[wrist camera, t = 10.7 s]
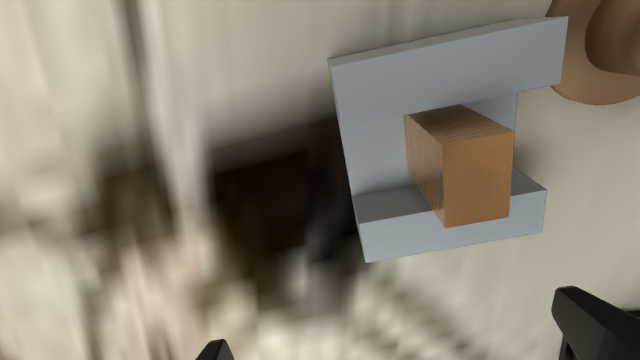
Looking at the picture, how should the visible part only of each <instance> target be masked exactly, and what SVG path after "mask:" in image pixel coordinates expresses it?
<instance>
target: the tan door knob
mask: <svg viewBox="0 0 640 360" xmlns="http://www.w3.org/2000/svg"><path fill="white" fill-rule="evenodd" d="M564 16H569V17H568V25H567V33H566V41H565V49H564V57H563V66H562V74H561V82H560V84H556V85H551V87H552V88H553V89H554V90H555V91H556V92H557V93H559V94H560V95H562V96H564V97H566V98H568V99H571V100H574V101H577V102H581V103H585V104H590V105H609V104H615V103H619V102H623V101H626V100H629V99H631V98H634V97H636V96H638V95H640V0H553V2H552V4H551V6H550V8H549V10H548V13H547V15H546V17H564Z"/></svg>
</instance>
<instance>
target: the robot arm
mask: <svg viewBox="0 0 640 360" xmlns="http://www.w3.org/2000/svg"><path fill="white" fill-rule="evenodd" d="M551 310H552V315H553V318H554V320H555V321H556V323H557V325H558V326H559V328H560V330H561V331H562V333H563V335H564V340H563V345H562V350H561V355H560V360H640V312H634V313H627V312H625V311H623V310H621V309H619V308H617V307H615V306H613V305H611V304H610V303H608V302H606V301H604V300H602V299H600V298H598V297H596V296H594V295H592V294H590V293H588V292H586V291H584V290H582V289H580V288H578V287H575V286H566V287H560V288H557V289H556V290H555V294H554V299H553V304H552V309H551ZM196 360H234V357H233V355H232V353H231V350H230V348H229V346H228V344H227V342H226V340H224V339H219V340H213V341H210V342H209V343H208V344H207V345H206V346H205V348H204V349H203V350H202V352H201V353H200V354H199V356H198V357H197V358H196Z"/></svg>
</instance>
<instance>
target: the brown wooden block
mask: <svg viewBox="0 0 640 360" xmlns="http://www.w3.org/2000/svg"><path fill="white" fill-rule="evenodd" d="M403 121H404V133H405V144H406V156H407V167H408V174H409V176H410V177H411V179H412V180H413V182H414V183H415V185H416V186H417V188H418V189H419V191H420V192H421V194H422V195H423V197H424V198H425V199H426V201H427V202H428V204H429V205H430V207H431V208H432V210H433V211H434V213H435V214H436V216H437V217H438V219H439V220H440V222H441V223H442V225H443V226H444V228H445V229H446V228H451V227H457V226H463V225H468V224H474V223H480V222H485V221H491V220H497V219H502V218H508V217H509V209H510V194H511V179H512V165H513V150H514V135H515V131H514V130H512V129H510V128H508V127H506V126H504V125H502V124H500V123H498V122H496V121H494V120H492V119H490V118H488V117H486V116H484V115H482V114H480V113H478V112H476V111H473V110H471V109H469V108H467V107H465V106H463V105H461V104H456V105H451V106H447V107H442V108H437V109H432V110H427V111H422V112H417V113H412V114H407V115H403Z"/></svg>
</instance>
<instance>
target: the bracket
mask: <svg viewBox="0 0 640 360" xmlns="http://www.w3.org/2000/svg"><path fill="white" fill-rule="evenodd" d="M568 17H569V16H564V17H545V18H526V19H512V20H507V21H502V22H498V23H493V24H488V25H484V26H479V27H474V28H470V29H465V30H461V31H456V32H451V33H447V34H442V35H437V36H433V37H428V38H424V39H419V40H414V41H410V42H405V43H400V44H396V45H391V46H387V47H382V48H377V49H373V50H368V51H363V52H359V53H354V54H350V55H345V56H340V57H336V58H331V59H327V61H328V67H329V72H330V78H331V83H332V89H333V95H334V100H335V106H336V111H337V117H338V122H339V128H340V134H341V139H342V145H343V150H344V156H345V162H346V167H347V173H348V178H349V184H350V189H351V195H352V201H353V206H354V212H355V217H356V223H357V228H358V232H359V236H360V241H361V245H362V249H363V254H364V258H365V262H366V263H369V262H374V261H380V260H386V259H392V258H397V257H403V256H409V255H415V254H421V253H426V252H432V251H438V250H444V249H449V248H455V247H461V246H467V245H472V244H478V243H484V242H490V241H496V240H501V239H507V238H513V237H519V236H524V235H530V234H536V233H542V228H543V220H544V212H545V204H546V196H547V189H545V188H544V187H542V186H541V185H539V184H538V183H536V182H535V181H534V180H532V179H531V178H529V177H528V176H526V175H525V174H523V173H522V172H520V171H519V170H517V169H516V168H514V167H513V166H512V179H511V194H510V209H509V217H508V218H502V219H497V220H491V221H485V222H480V223H474V224H468V225H463V226H457V227H451V228H446V229H445V228H444V226H443V225H442V223H441V222H440V220H439V219H438V217H437V216H436V214H435V213H434V211H433V210H432V208H431V207H430V205H429V204H428V202H427V201H426V199H425V198H424V197H423V195H422V194H421V192H420V191H419V189H418V188H417V186H416V185H415V183H414V182H413V180H412V179H411V177H410V176H409V174H408V167H407V156H406V144H405V133H404V121H403V115H407V114H412V113H417V112H422V111H427V110H432V109H437V108H442V107H447V106H451V105H456V104H461V105H463V106H465V107H467V108H469V109H471V110H473V111H476V112H478V113H480V114H482V115H484V116H486V117H488V118H490V119H492V120H494V121H496V122H498V123H500V124H502V125H504V126H506V127H508V128H510V129H512V130H514V131H515V119H516V104H517V92H521V91H526V90H531V89H536V88H541V87H546V86H551V85H556V84H560V82H561V74H562V66H563V57H564V49H565V41H566V33H567V25H568Z"/></svg>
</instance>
